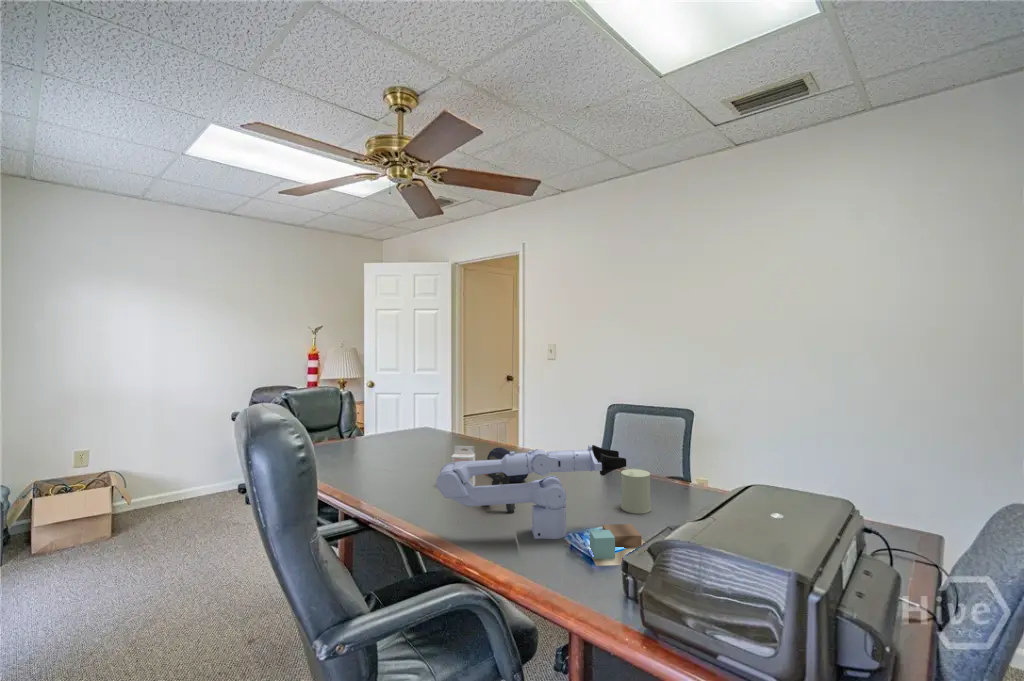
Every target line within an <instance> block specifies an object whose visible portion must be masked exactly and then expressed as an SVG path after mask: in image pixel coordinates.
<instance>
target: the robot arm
mask: <svg viewBox="0 0 1024 681" xmlns="http://www.w3.org/2000/svg"><path fill="white" fill-rule="evenodd" d="M619 454H620V452H619V451H618V450H614V449H606V448H604V447H599V446H598V445H595V444H593V445H591V444H588V445H587V449H572V450H571V449H570V450H564V449H563V450H556V451H553V450H551V451H545V450H543V449H538V448H537V449H534V450H528V451H527V452H518V453H515V451H510V454H506V455H505V456H504V457H503V458H502V459H501V460H487V459H484V460H482V459H480V460H475V461H459V462H455V463H451V462H448V463H445V464H444V465H442V467H441V469H440V470H439V471H440V472H439V475H438V476H437V478H436V487H437V490H438V491H439V492H440V493H441V495H442V496H443V497H444V498H445V499H450V500H453V501H454V502H457V503H459V504H461V505H462V506H464V507H478V506H479V507H481V506H496V505H499V506H500V505H506V504H515V505H516V504H526V503H532V504H533V505H532V506H531V533H532V536H533V538H534V539H536V540H537V539H540V540H541V539H549V540H550V539H551V540H556V539H557V540H559V539H562V538H564V537H566V536H567V502H566V501H567V498H568V497H567V492H566V489H565V488H564V487H563V483H562V481H561V480H560V478H558V476H555V475H549V473H566V472H590V473H591V472H599V475H600V476H606V475H607V474H609V473H611V472H613V471H616V470H619V469H623V468H626V467H627V458H625V457H620V456H619ZM496 472H503V473H505V474H506V475H507V476H512V475H523V474H528V475H531V474H532V473H535V474H537V475H541V476H542V477H544V476H545V477H544V478H542V479H536V480H532V481H531V482H523V483H520V482H519V483H510V484H504V485H503V484H499V485H492V484H490V485H476V486H475V485H474V486H473V485H472V484H471V483H470V482H469V481H468V480H469V479H470V478H471V477H472V476H475V477H476V476H482V475H485V474H489V473H494V474H496Z"/></svg>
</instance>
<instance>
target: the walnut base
mask: <svg viewBox="0 0 1024 681" xmlns="http://www.w3.org/2000/svg"><path fill="white" fill-rule="evenodd" d="M601 527H602V529H601V530H610V531H611V533H612V534H613V536H614V537H615V547H624V548H637V547H639V546H641V545H642V539H643V538H642V535H641V533H640V532H639V531H638V530H637V528H636V527H635V526H634V525H633V524H632V523H620V524H619V523H618V524H617V523H616V524H602V526H601Z"/></svg>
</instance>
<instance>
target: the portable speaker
mask: <svg viewBox="0 0 1024 681" xmlns="http://www.w3.org/2000/svg"><path fill="white" fill-rule="evenodd" d="M510 452H511V451H510V450H508V449H505V448H503V447H495V448H492V449H491V450H490V451H489V452H488V455H487V458H486V460H501V459H502V458H503V457H504V456H505V455H506V454H510ZM496 473H497V472H496ZM496 473H495V474H496ZM505 475H506V474H505V473H503V472H501V474H500V475H499V476H503V477H505ZM528 476H529V474H523V475H512V476H511V477H510V479H509V482H512V483H520V482H523V481H524V480H525V479H527V478H528Z"/></svg>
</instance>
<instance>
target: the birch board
mask: <svg viewBox="0 0 1024 681" xmlns="http://www.w3.org/2000/svg"><path fill="white" fill-rule="evenodd" d="M643 543H646V541H645V540H644V539H643V538H642V544H643ZM637 548H638V547H637ZM635 549H636V548H626V549H624V550H623V551H620V552H617V553H615V558H610V559H594V557H591V558H592V560H593V563H594V564H595V566H596V567H604V566H605V567H606V566H607V567H608V566H622V565H621V562H622V558H623V557H624V556H625V555H626V554H628V553H629V552H632V551H633V550H635Z"/></svg>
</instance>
